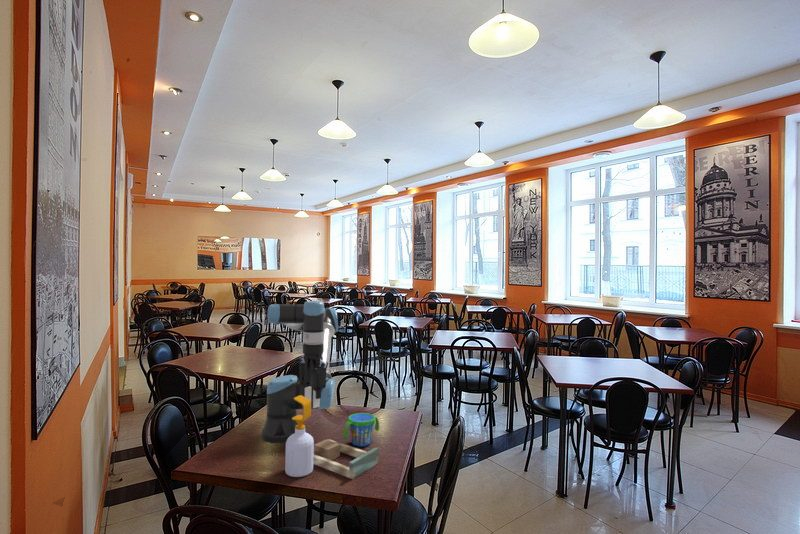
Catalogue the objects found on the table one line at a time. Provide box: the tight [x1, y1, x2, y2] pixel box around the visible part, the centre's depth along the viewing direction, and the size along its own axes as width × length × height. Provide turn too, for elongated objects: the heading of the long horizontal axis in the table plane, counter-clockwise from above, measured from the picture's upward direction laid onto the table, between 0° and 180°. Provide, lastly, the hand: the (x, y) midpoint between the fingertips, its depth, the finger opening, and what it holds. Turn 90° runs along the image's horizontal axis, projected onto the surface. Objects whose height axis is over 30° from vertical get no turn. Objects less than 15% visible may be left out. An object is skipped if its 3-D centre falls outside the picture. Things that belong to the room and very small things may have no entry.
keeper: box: [314, 439, 341, 461], centre depth 147 cm, size 7×6×4 cm
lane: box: [313, 438, 380, 480], centre depth 144 cm, size 24×14×5 cm, turn 56°
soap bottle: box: [284, 395, 315, 478], centre depth 136 cm, size 9×9×25 cm
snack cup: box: [342, 412, 380, 447], centre depth 159 cm, size 16×10×10 cm
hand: (312, 405), depth 152 cm, fingers open, 4 cm apart
